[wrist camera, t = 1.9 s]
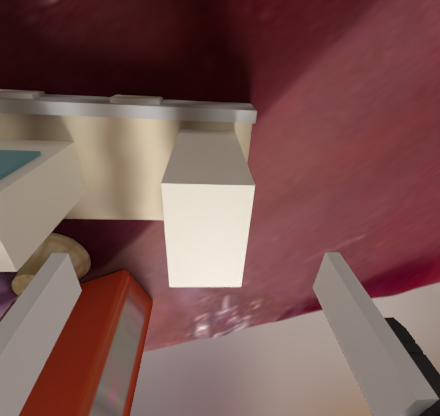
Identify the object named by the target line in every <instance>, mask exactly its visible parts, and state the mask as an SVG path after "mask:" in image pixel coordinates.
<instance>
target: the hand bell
mask: <svg viewBox="0 0 440 416" xmlns="http://www.w3.org/2000/svg"><path fill="white" fill-rule="evenodd" d="M52 253H68V254H69V257H70V259H71V262H72V265H73V268H74V270H75V273H76V276H77V279H79V278H81V277H83V276H84V275H85V274H87V272H88V271H89V269H90V266H91V260H90V256H89V254H88V253H87V251H86V250H85V249H84V247H83V246H82V245H80V244H79V243H78V242H76V241H75V240H73V239H72V238H69V237H67V236H65V235H62V234H58V233H52V232H51V233H50V234H49V236H48V237H47V238H46V239H45V240H44V241H43V243H42V244H41V245H40V246H39V247H38V248H37V249H36V251H35V252H34V253H33V254H32V255H31V256H30V258H29V259H28V260H27V261H26V262H25V263H24V265H23V266H22V267H21V268H20V270H19V272H18V274H17V275H16V277H15V278H14V280H13V282H12V288H13V291H14V292H15V293H16V294H17V295H18V296H17V298H16V299H15V300H14V301H13V302H12V303H11V305H10V306H9V308H8V309H7V310H6V312H5V313H4V314H3V316H2V317H1V318H0V322H1V320H2V319H3V318H4V316H5V315H6V314H7V312H8V311H9V310H10V308H11V307H12V306H13V304H14V303H15V302H16V300H17V299H18V298H19V296H20V295H21V294H22V292H23V291H24V290H25V288H26V287H27V286H28V284H29V283H30V282H31V281H32V279H33V278H34V277H35V275H36V274H37V273H38V271H39V270H40V269H41V267H42V266H43V265H44V263H45V262H46V261H47V259H48V258H49V257H50V255H51V254H52Z"/></svg>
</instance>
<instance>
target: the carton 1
mask: <svg viewBox="0 0 440 416" xmlns="http://www.w3.org/2000/svg"><path fill="white" fill-rule="evenodd" d="M86 192H87V187H86V184H85V180H84V176H83V172H82V168H81V164H80V161H79V157H78V153H77V149H76V145H75V142H66V141H37V140H8V139H0V272H17V271H18V270H19V269H20V268H21V267H22V266H23V265H24V263H25V262H26V261H27V260H28V259H29V258H30V256H31V255H32V254H33V253H34V252H35V251H36V249H37V248H38V247H39V246H40V245H41V244H42V243H43V241H44V240H45V239H46V238H47V237H48V236H49V234H50V233H51V232H52V231H53V230H54V229H55V228H56V226H57V225H58V224H59V223H60V222H61V221H62V219H63V218H64V217H65V216H66V215H67V214H68V212H69V211H70V210H71V209H72V208H73V207H74V206H75V204H76V203H77V202H78V201H79V200H80V199H81V197H82V196H83V195H84V194H85V193H86Z"/></svg>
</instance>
